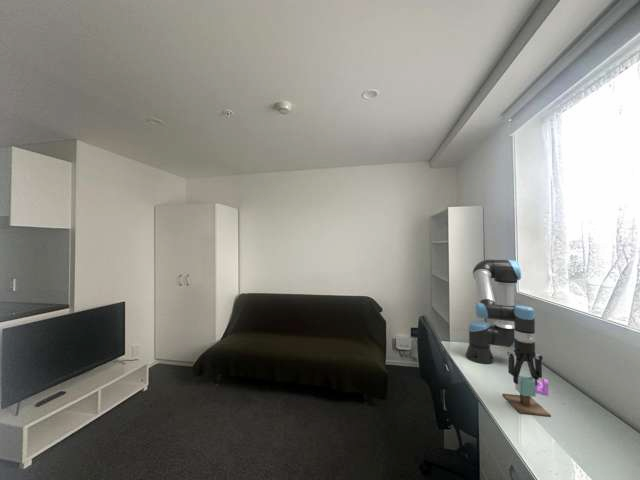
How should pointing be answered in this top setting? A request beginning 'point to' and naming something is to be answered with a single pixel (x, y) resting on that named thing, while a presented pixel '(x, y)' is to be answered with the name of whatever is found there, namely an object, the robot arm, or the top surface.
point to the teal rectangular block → (527, 386)
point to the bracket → (542, 387)
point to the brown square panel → (526, 405)
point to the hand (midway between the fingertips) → (525, 391)
